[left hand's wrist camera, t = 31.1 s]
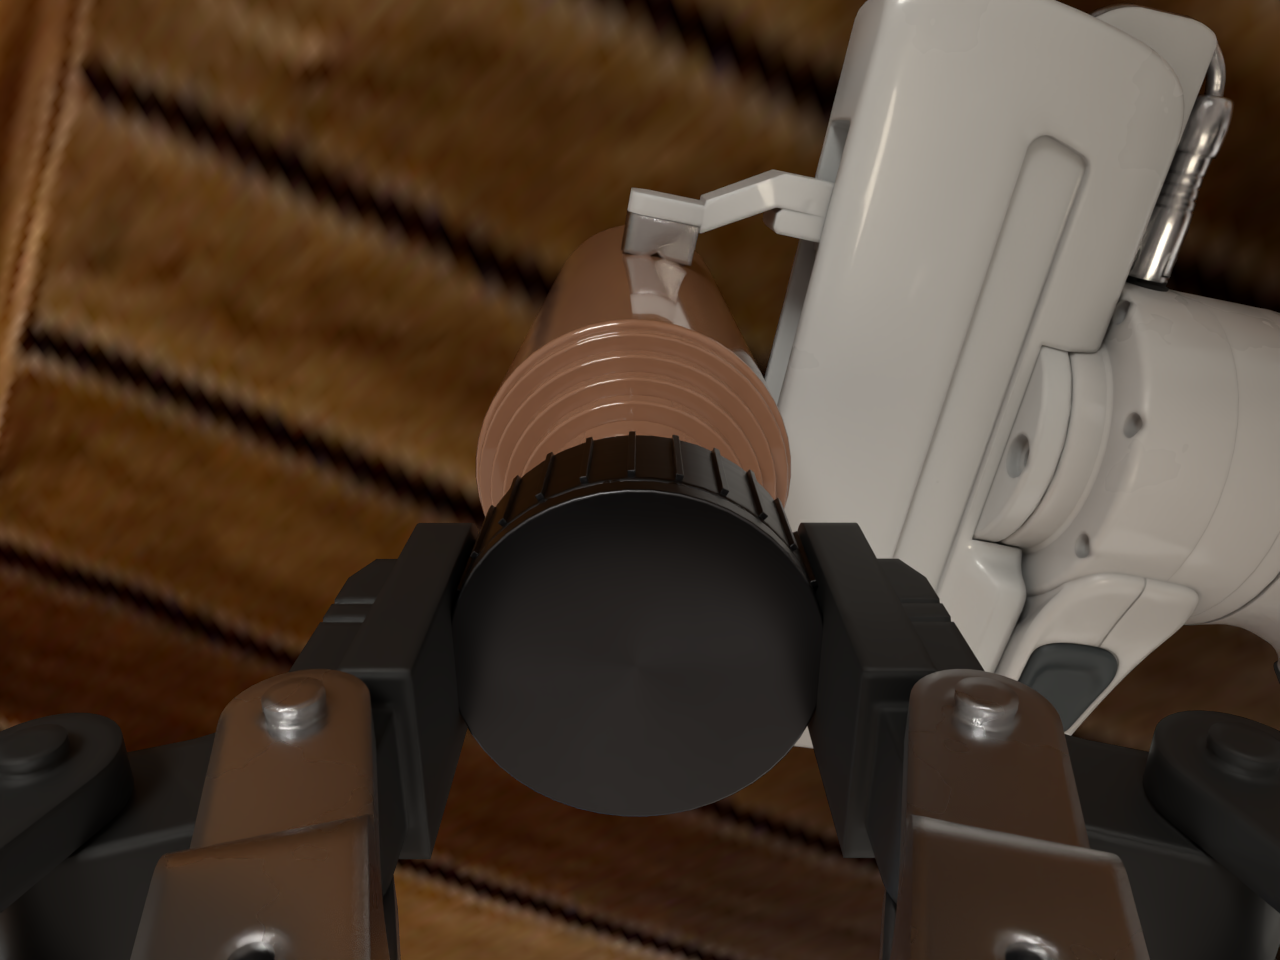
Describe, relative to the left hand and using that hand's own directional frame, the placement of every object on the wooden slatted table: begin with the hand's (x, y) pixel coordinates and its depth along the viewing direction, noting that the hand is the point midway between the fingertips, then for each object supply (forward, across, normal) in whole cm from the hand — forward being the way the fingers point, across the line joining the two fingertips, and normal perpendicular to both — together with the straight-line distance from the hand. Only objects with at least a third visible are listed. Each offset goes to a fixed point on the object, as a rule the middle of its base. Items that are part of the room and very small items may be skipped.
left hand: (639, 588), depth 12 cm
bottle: (+19, 0, 0) cm, 19 cm away
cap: (-2, 0, 0) cm, 2 cm away
